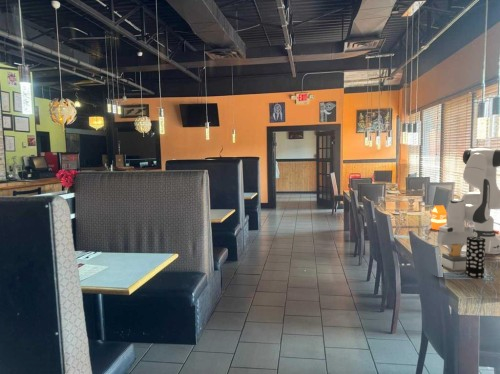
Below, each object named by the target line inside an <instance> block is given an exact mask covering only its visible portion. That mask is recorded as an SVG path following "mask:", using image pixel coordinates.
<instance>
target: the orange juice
mask: <svg viewBox="0 0 500 374" xmlns="http://www.w3.org/2000/svg"><path fill="white" fill-rule="evenodd" d="M447 216H448V215H447V211H446V209H445V206H444V205H443V204H442V205H434V206H433V209H432V210H431V219H430V221H431V222H430V223H431V224H430V228H431V229H433V230H437V231H440V230H439V227H440V226H443V225H445V224H447Z"/></svg>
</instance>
